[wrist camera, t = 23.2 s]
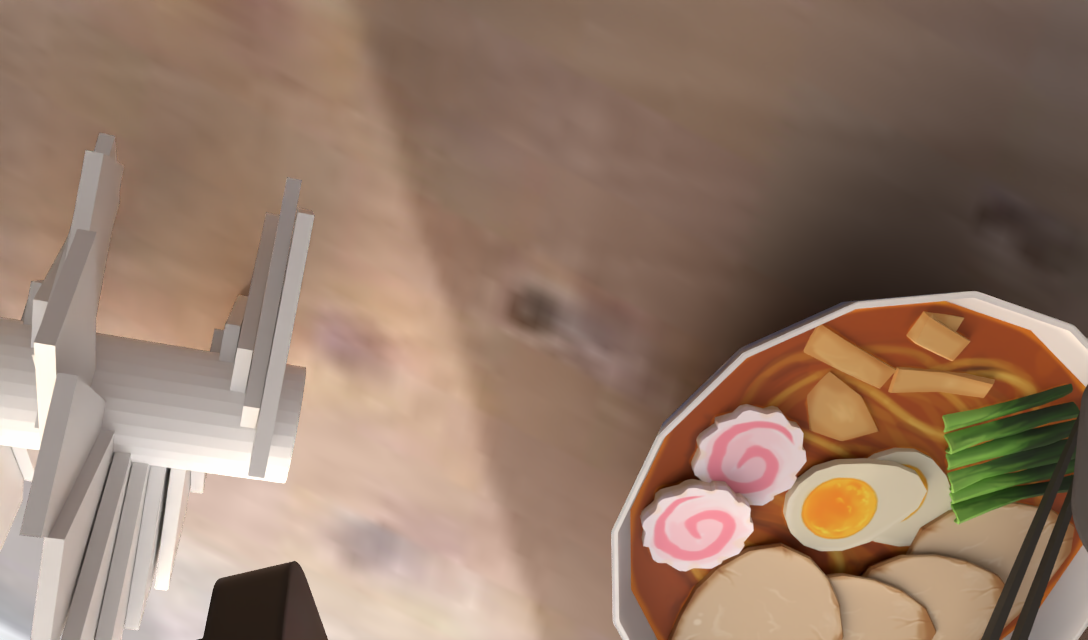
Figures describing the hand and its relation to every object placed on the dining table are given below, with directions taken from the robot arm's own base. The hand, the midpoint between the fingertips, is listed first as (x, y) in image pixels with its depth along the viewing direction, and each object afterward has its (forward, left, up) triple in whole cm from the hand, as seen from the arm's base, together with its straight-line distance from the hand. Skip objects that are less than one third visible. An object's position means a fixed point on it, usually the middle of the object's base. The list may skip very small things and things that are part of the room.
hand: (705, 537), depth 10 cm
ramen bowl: (+18, -17, -31) cm, 40 cm away
